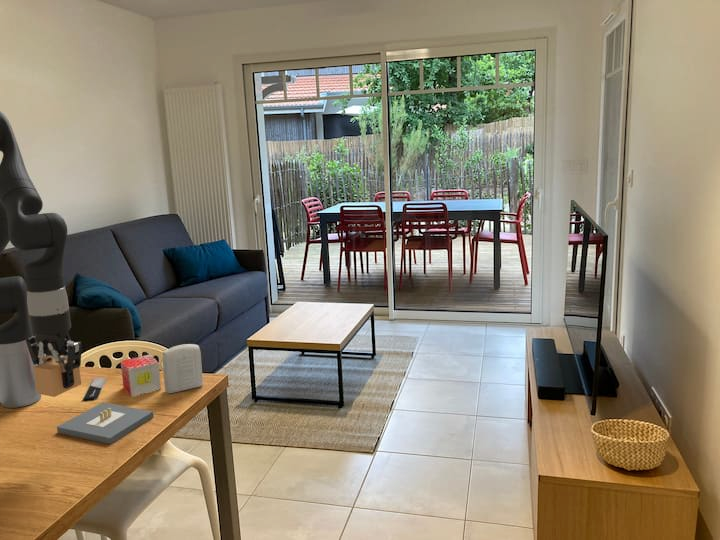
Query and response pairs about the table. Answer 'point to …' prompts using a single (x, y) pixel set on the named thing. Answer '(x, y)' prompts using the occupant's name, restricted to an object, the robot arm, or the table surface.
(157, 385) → the red and white cube
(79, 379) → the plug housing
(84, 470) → the table surface
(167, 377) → the photo printer
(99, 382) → the computer memory module
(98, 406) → the board
